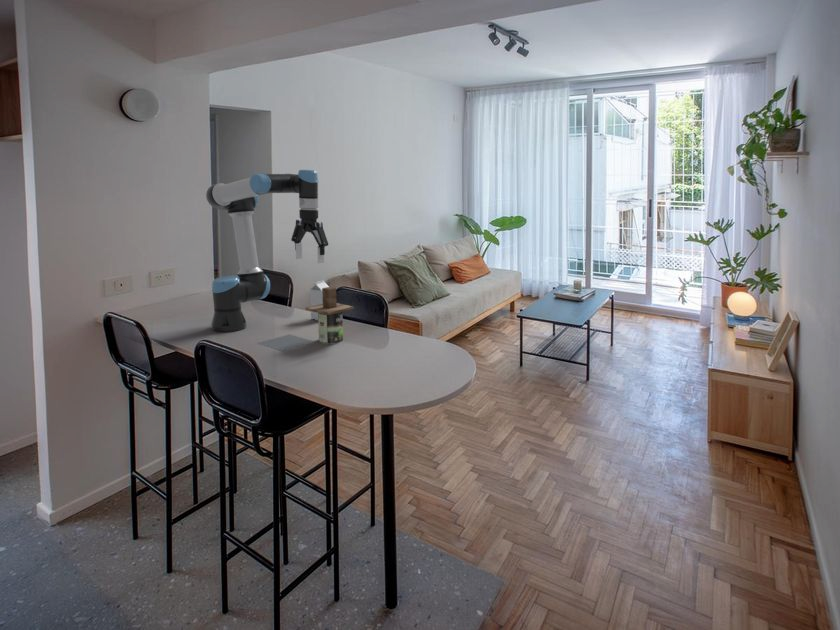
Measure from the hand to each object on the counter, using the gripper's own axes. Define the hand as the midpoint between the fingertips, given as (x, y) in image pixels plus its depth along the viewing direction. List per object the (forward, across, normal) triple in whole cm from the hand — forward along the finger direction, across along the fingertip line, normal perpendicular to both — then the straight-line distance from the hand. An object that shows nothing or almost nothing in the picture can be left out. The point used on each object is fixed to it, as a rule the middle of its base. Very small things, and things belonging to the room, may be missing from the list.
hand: (309, 260), depth 228 cm
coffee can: (+33, +11, +1) cm, 35 cm away
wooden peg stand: (+19, +11, +1) cm, 22 cm away
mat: (+34, -1, -13) cm, 36 cm away
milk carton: (+34, -21, +24) cm, 47 cm away
